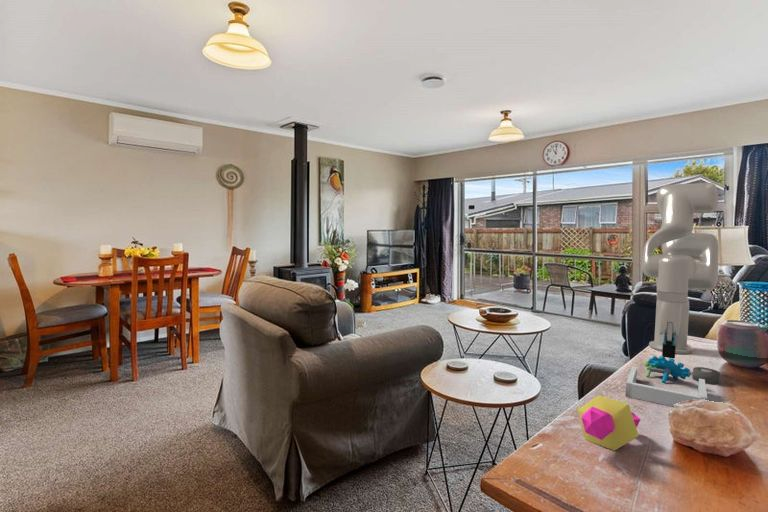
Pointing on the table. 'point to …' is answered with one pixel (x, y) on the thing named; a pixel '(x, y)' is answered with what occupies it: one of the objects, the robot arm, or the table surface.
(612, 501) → the table surface
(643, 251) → the robot arm
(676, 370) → the gear
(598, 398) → the toy
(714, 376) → the wheel
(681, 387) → the table surface
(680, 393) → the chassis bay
